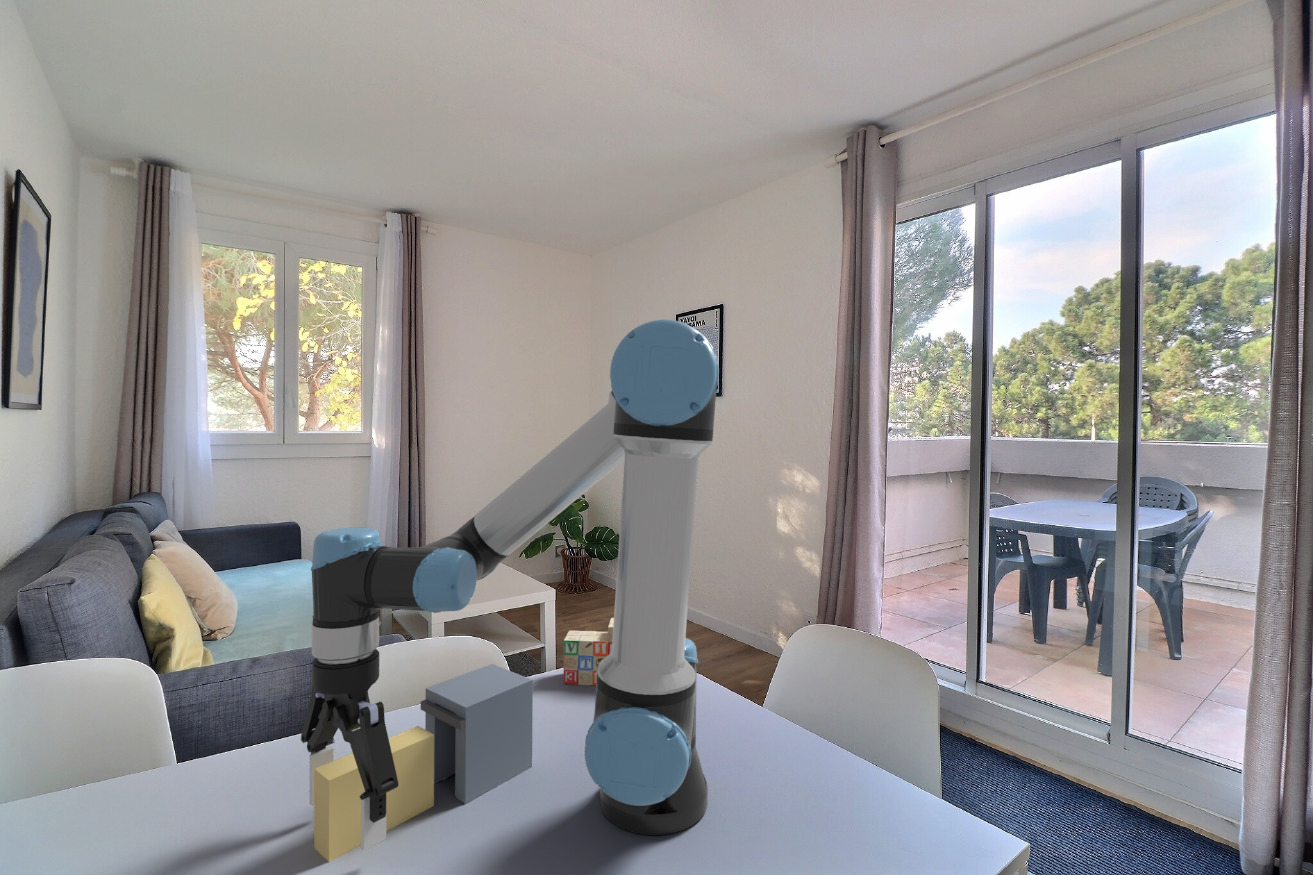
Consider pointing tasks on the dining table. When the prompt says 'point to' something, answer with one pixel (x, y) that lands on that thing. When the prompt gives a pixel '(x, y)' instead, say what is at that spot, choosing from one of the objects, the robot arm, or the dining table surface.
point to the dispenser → (480, 728)
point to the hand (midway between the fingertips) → (346, 820)
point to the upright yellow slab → (344, 786)
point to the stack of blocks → (585, 655)
